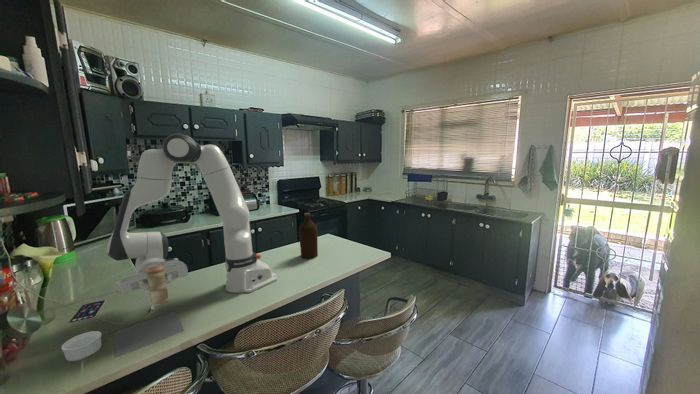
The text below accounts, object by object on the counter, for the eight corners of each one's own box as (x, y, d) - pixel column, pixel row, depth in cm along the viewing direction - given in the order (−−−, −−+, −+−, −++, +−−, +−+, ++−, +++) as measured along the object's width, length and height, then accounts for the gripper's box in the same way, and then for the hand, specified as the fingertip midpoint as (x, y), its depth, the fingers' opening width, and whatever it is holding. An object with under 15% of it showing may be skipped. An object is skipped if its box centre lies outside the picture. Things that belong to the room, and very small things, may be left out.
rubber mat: (175, 312, 106) (175, 311, 106) (184, 331, 94) (184, 330, 94) (113, 333, 94) (113, 332, 94) (115, 358, 82) (115, 357, 82)
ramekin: (69, 349, 87) (67, 337, 86) (106, 339, 92) (104, 327, 91) (59, 367, 80) (56, 354, 79) (99, 355, 84) (97, 342, 83)
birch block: (166, 296, 98) (161, 264, 96) (169, 301, 95) (163, 268, 93) (151, 301, 96) (145, 268, 94) (153, 306, 92) (147, 272, 90)
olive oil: (317, 259, 155) (315, 215, 151) (298, 259, 155) (295, 215, 151) (319, 252, 165) (317, 211, 161) (302, 252, 166) (299, 211, 162)
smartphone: (67, 323, 101) (82, 304, 114) (67, 324, 101) (83, 305, 114) (94, 317, 104) (106, 299, 117) (94, 318, 104) (106, 300, 117)
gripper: (114, 273, 97) (115, 286, 86) (181, 256, 110) (189, 266, 100) (117, 290, 98) (119, 305, 87) (184, 271, 111) (192, 283, 101)
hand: (157, 284), depth 94 cm, fingers closed on birch block, 4 cm apart
